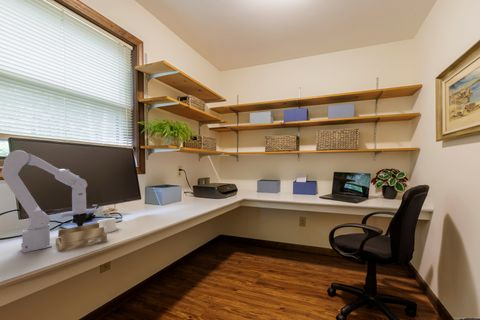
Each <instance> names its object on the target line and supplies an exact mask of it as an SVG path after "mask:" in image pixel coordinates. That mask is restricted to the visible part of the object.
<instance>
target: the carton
mask: <svg viewBox="0 0 480 320" xmlns="http://www.w3.org/2000/svg"><path fill="white" fill-rule="evenodd" d="M107 239H108V233H105V235H102V236H97V237H93V238H88V239H83V240H78V241H74V242H69V243H64V244H61V237H55V246H56V249H57V251H58V252H65V251H69V250H73V249H79V248H84V247H87V246H88V247H89V246H93V245H97V244H102V243H106V242H107V241H108V240H107Z"/></svg>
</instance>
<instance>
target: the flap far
mask: <svg viewBox="0 0 480 320" xmlns="http://www.w3.org/2000/svg"><path fill="white" fill-rule="evenodd" d="M95 228H99V223H98V222H96V223H89V224H83V226H72V227H67V228H62V229H58V232H57V238H59V237H61V235H63V234H68V233H74V232H79V231H84V230H89V229H95Z"/></svg>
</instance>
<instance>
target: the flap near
mask: <svg viewBox="0 0 480 320" xmlns="http://www.w3.org/2000/svg"><path fill="white" fill-rule="evenodd" d="M102 235H105V232H104V227H100V228H95V229H89V230H84V231H79V232H74V233H68V234H63V235H61V244H67V243H71V242H75V241H78V240H83V239H88V238H93V237H97V236H102Z"/></svg>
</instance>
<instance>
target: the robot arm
mask: <svg viewBox="0 0 480 320" xmlns="http://www.w3.org/2000/svg"><path fill="white" fill-rule="evenodd" d="M25 165H28V166H35V167H37V168H40V169H42V170H44V171H46V172H48V173H50V174H52V175H54V178H55V180H57V181H59V182H60V183H62V184H65V185H66V186H69V187H71V190H72V191H71V205H72V208H71V209H72V210H71V211H67V212H66V211H65V212H61V213H60V218H61V219H62V218H67V217H73V219H74V220H75V223H76V225H77V226H83V225H84V223H85V221H86V218H87V214H92V213H98V208H97V207H96V208H95V207H93V208H87V192H86V191H87V190H86V188H87V187H88V183H87V181H86V179H84V178H81V177H80V175H78V174H77V175H76V174H74V173H73V172H71V170H70V169H68V168H67V169H66V168H58V167H56V166H54V165H53V164H51V163H49V162H47V161H45V160H43V158H40V157H38V156H36V155H33V154H31V153H27V152H26V151H24V150H22V149H17V150H13V151H11V152H9V153H8V155H7V156H6V157H5V158H4V161H3V165H2V169H1V172H0V174H1V177H2V178H3V180H4V181H5V183H6V184H7V186H8V187H9V189H10V190H11V192H12V193H13V194H14V196H15V198H16V200H17V201H18V202H19V204H20V205H21V206H22V208H23V210H25V212H26V214H27V216H28V222H29V223H30V225H29V226H28V227H27V229H22V231H21V232H22V233H21V235H22V236H21V237H22V239H21V241H22V242H21V244H20V245H21V248H22V253H27V252H32V251H37V250H43V249H47V248H51V247H52V242H51V234H50V233H51V231H50V228H51V227H50V225H51V224H50V221H51V219H50V216H49V215H48V214H47V213H46V212H45V211H43V210H42V209H41V207H40V206H39V205H38V203H37V202H36V200H35V198H34V197H33V195H31V194H32V193H31V192H30V191H29V189H28V188H27V187H26V185H25V183H24V181H23V180H22V179H21V177H20V176H19V173H20V171H21V169H22V168H23V167H24V166H25ZM77 226H76V227H77Z"/></svg>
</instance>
